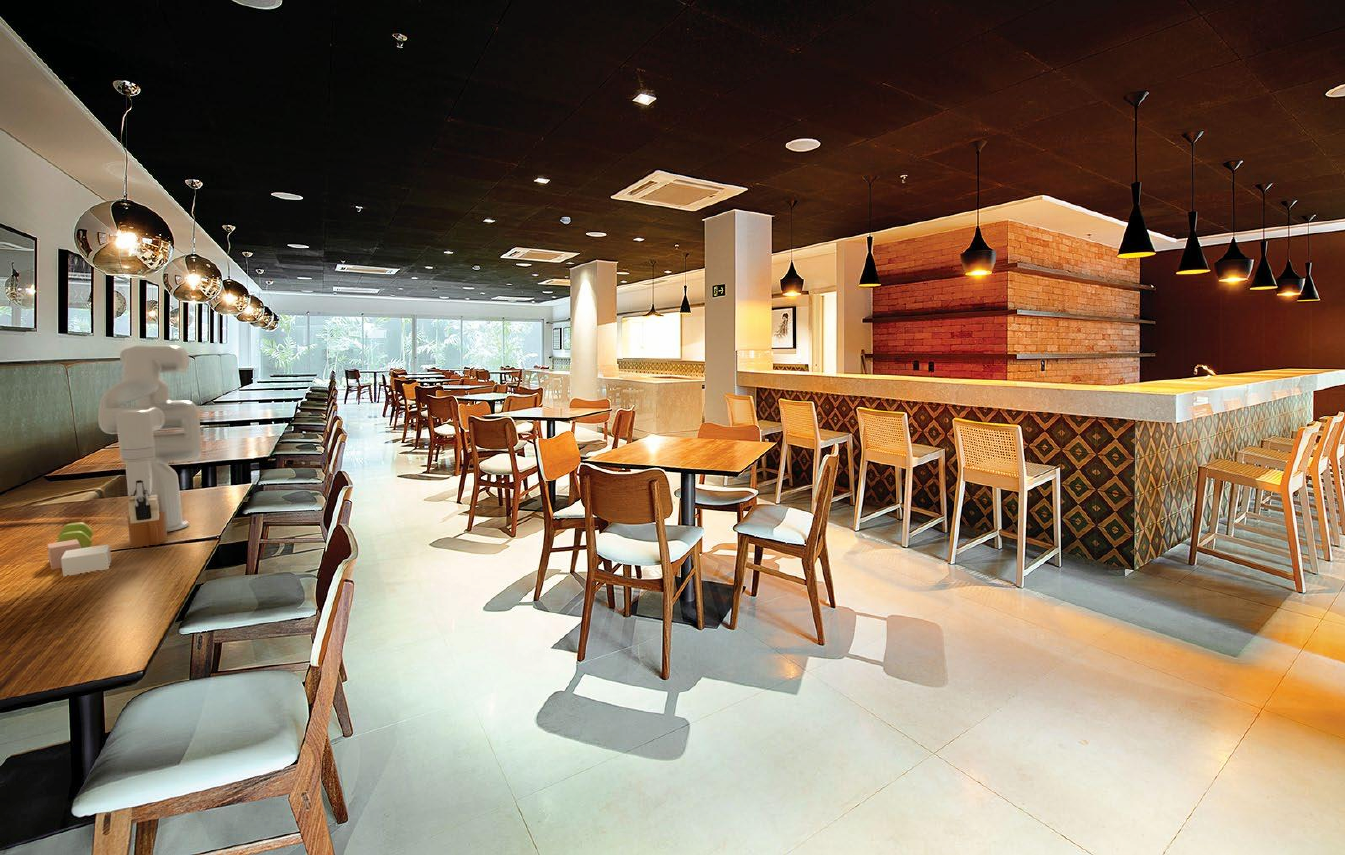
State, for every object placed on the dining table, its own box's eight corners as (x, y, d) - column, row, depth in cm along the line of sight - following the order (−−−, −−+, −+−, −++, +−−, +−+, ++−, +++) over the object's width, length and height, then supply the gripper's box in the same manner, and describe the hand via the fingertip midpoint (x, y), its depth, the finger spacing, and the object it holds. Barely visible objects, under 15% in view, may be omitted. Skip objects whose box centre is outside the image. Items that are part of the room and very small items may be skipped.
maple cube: (132, 518, 181) (130, 497, 180) (159, 515, 184) (157, 494, 183) (130, 523, 176) (128, 502, 175) (158, 520, 179) (156, 499, 179)
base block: (67, 568, 174) (65, 550, 173) (111, 561, 179) (109, 544, 179) (63, 577, 167) (61, 558, 166) (108, 570, 172) (106, 552, 172)
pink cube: (50, 565, 176) (47, 544, 176) (79, 559, 181) (76, 539, 180) (52, 569, 172) (49, 548, 172) (82, 564, 177) (79, 543, 176)
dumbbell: (92, 555, 185) (89, 530, 184) (54, 560, 180) (51, 536, 179) (95, 542, 198) (92, 519, 197) (60, 547, 192) (57, 524, 192)
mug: (130, 552, 187) (126, 522, 186) (130, 543, 196) (126, 514, 195) (169, 545, 193) (165, 516, 192) (167, 537, 202) (163, 509, 201)
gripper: (123, 450, 182) (130, 511, 185) (116, 460, 168) (124, 526, 171) (157, 448, 186) (163, 507, 189) (153, 457, 173) (160, 521, 175)
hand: (145, 516), depth 180 cm, fingers closed on maple cube, 6 cm apart
